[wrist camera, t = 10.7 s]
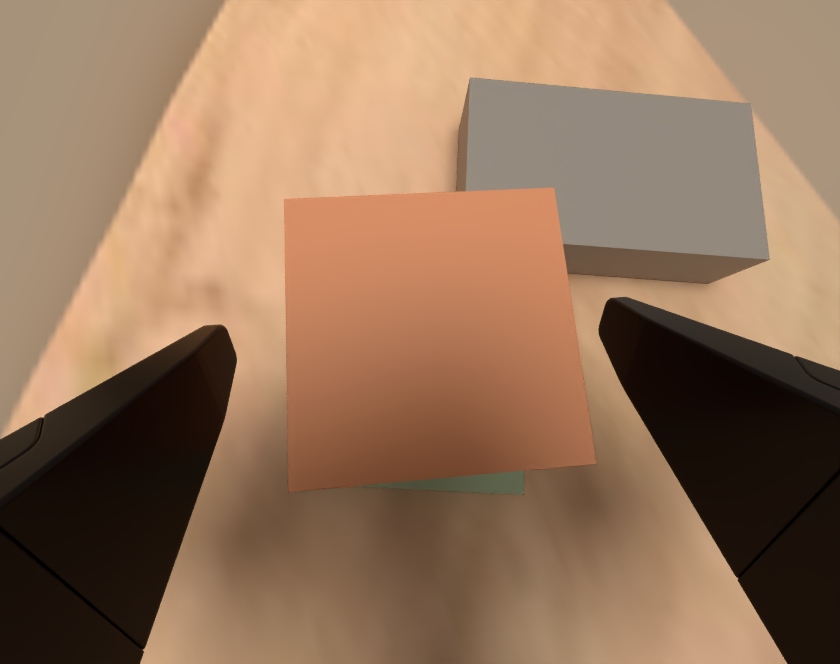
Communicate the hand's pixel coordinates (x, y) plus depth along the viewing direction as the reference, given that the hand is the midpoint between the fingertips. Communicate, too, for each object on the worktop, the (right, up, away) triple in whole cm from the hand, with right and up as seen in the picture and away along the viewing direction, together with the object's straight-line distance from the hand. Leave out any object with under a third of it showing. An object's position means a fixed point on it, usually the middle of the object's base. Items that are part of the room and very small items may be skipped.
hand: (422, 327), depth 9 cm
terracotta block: (0, -2, +6) cm, 7 cm away
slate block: (+8, +6, +9) cm, 13 cm away
